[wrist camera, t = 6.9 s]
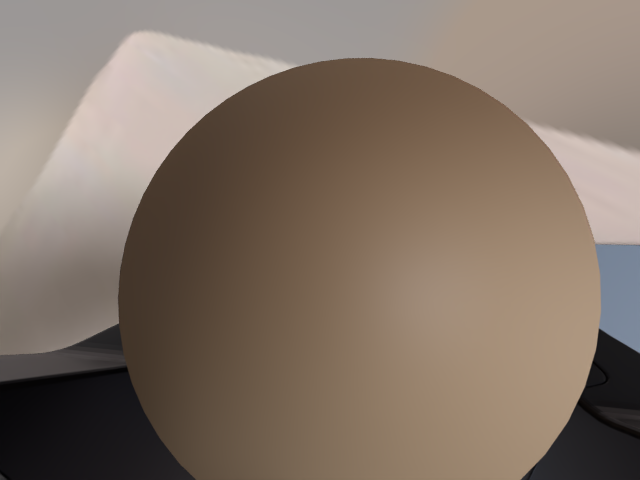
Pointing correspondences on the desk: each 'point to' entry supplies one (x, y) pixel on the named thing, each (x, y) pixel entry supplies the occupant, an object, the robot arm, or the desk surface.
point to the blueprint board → (620, 292)
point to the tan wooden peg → (359, 283)
